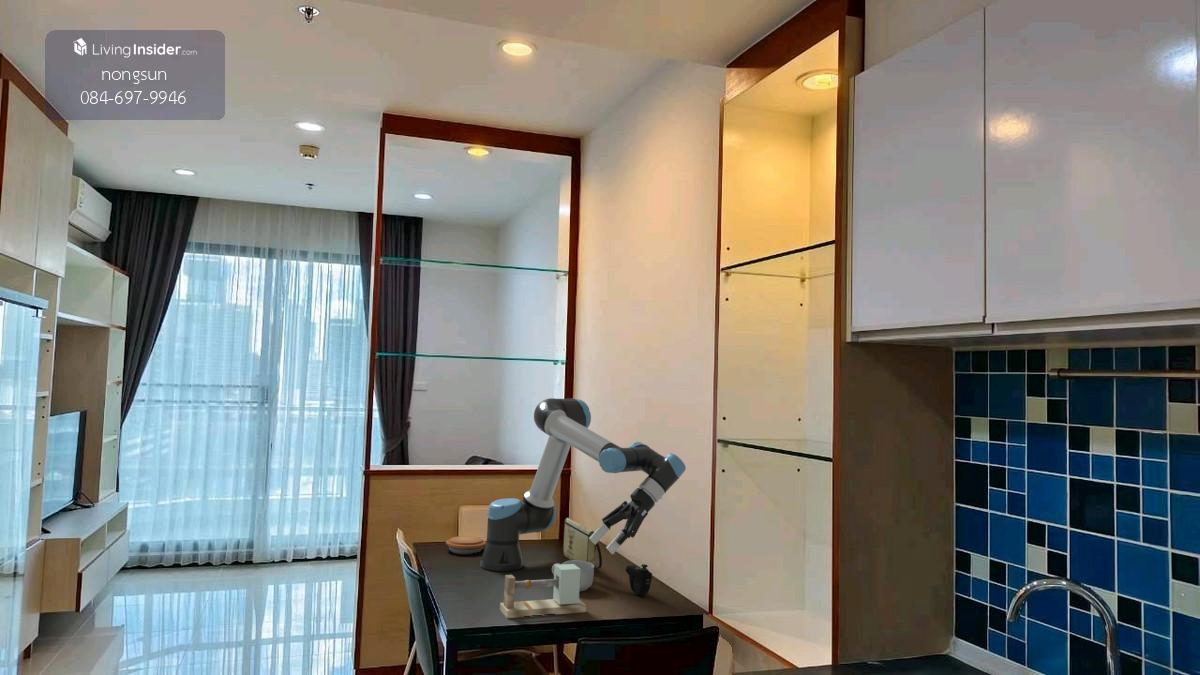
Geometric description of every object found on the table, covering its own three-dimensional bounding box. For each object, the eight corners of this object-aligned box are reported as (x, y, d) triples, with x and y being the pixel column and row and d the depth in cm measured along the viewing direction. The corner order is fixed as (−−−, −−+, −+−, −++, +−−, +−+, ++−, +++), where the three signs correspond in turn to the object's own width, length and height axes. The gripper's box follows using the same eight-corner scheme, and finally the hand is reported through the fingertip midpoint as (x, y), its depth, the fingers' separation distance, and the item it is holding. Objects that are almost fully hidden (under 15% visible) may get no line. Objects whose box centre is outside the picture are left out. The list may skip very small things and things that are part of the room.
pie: (450, 556, 280) (450, 543, 281) (441, 547, 295) (442, 534, 295) (490, 555, 287) (490, 541, 287) (480, 546, 301) (480, 533, 301)
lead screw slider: (576, 604, 228) (578, 569, 229) (586, 612, 220) (587, 575, 221) (499, 609, 219) (501, 573, 220) (506, 618, 211) (508, 580, 212)
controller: (641, 599, 236) (642, 567, 236) (623, 589, 247) (624, 558, 247) (653, 598, 238) (654, 566, 238) (634, 588, 249) (635, 557, 249)
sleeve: (571, 597, 226) (573, 563, 227) (578, 603, 221) (580, 568, 221) (553, 598, 224) (554, 564, 225) (559, 604, 219) (561, 569, 219)
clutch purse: (606, 574, 266) (608, 531, 266) (588, 575, 263) (590, 532, 264) (577, 554, 293) (578, 516, 294) (560, 555, 290) (562, 516, 291)
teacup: (597, 587, 248) (599, 562, 248) (586, 595, 238) (587, 569, 238) (558, 581, 253) (560, 557, 253) (546, 589, 242) (547, 564, 243)
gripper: (672, 510, 223) (625, 564, 216) (637, 497, 246) (592, 546, 239) (657, 492, 221) (608, 546, 215) (623, 481, 244) (578, 529, 238)
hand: (600, 546), depth 227 cm, fingers open, 13 cm apart
